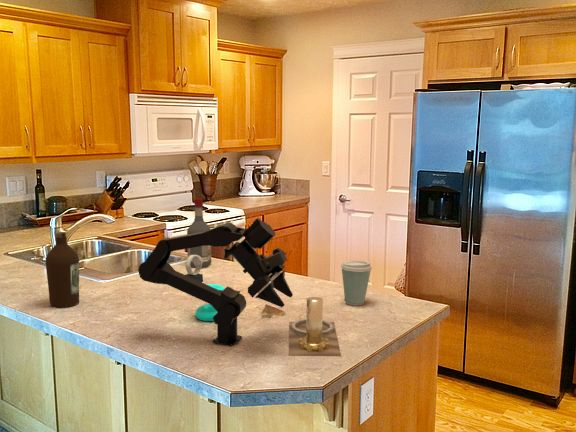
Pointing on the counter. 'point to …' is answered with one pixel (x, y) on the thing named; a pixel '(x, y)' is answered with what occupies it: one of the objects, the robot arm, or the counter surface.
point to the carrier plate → (299, 331)
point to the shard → (271, 312)
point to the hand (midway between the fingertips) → (287, 301)
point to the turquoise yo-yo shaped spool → (208, 307)
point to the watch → (198, 263)
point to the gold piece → (314, 327)
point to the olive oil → (62, 274)
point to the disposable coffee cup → (355, 281)
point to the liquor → (196, 228)
